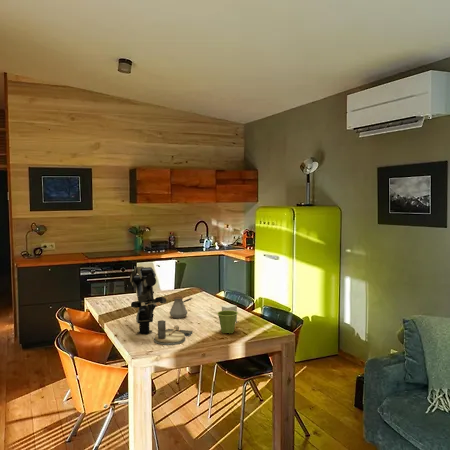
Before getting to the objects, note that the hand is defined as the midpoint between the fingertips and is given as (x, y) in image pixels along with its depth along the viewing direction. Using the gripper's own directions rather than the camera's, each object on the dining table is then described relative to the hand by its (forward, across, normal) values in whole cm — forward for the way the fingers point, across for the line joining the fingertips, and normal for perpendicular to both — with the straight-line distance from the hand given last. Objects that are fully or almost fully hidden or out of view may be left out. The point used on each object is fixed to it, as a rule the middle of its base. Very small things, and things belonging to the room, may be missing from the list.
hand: (149, 318), depth 251 cm
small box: (+4, +29, +49) cm, 57 cm away
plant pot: (+11, +33, +30) cm, 46 cm away
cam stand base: (+11, +7, +10) cm, 17 cm away
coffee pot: (-3, -1, +49) cm, 49 cm away
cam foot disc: (+10, +7, +9) cm, 16 cm away
